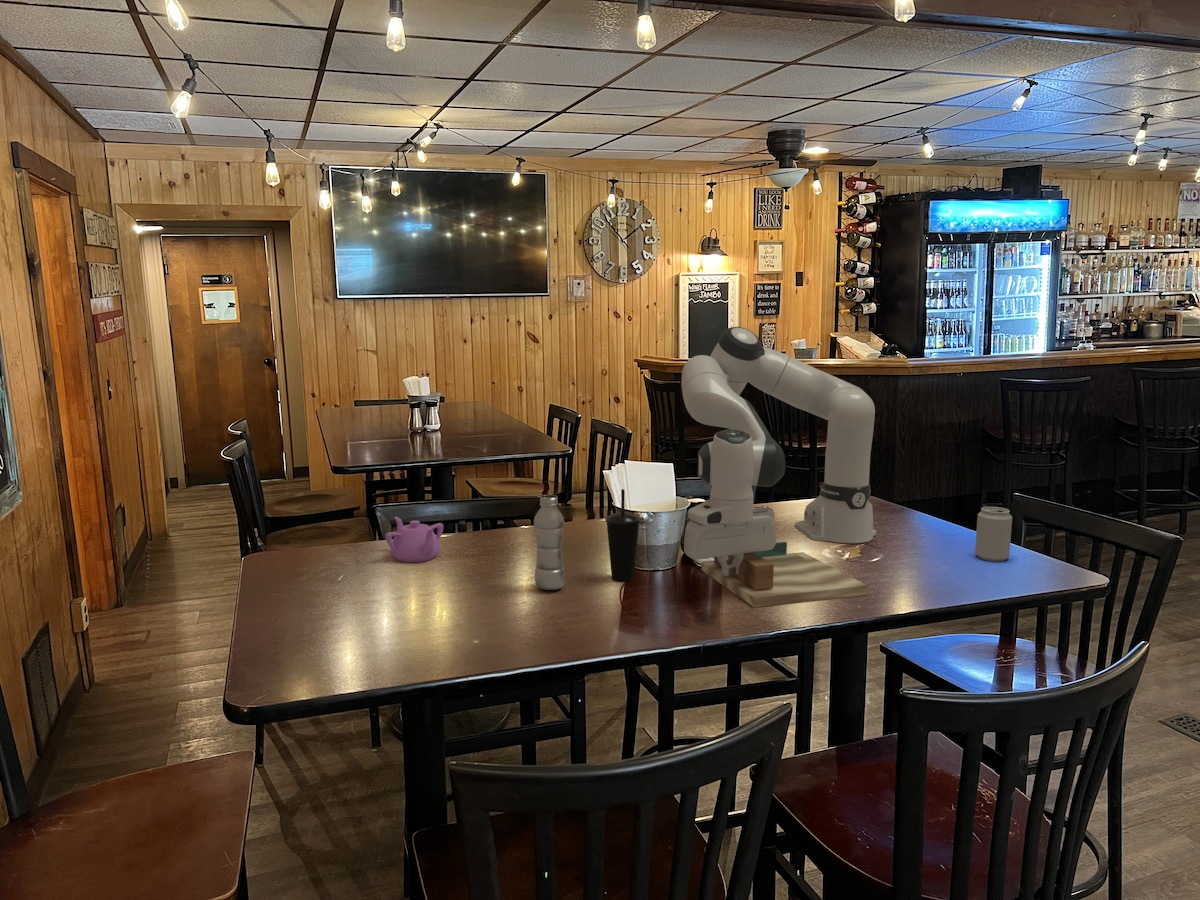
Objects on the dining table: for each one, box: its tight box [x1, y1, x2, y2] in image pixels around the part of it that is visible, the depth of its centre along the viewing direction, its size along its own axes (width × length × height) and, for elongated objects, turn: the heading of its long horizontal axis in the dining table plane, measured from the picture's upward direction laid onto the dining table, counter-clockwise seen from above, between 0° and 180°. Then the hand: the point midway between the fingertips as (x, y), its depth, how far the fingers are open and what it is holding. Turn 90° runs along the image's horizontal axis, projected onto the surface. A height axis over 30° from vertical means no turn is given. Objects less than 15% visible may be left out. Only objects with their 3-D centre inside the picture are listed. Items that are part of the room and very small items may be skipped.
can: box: [974, 506, 1013, 562], centre depth 206 cm, size 8×8×12 cm
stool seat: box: [700, 541, 869, 608], centre depth 189 cm, size 26×26×5 cm
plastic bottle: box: [533, 494, 566, 591], centre depth 183 cm, size 6×7×20 cm
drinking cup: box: [604, 488, 641, 583], centre depth 190 cm, size 8×8×20 cm
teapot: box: [384, 516, 444, 564], centre depth 208 cm, size 12×14×9 cm
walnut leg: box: [713, 552, 774, 590], centre depth 187 cm, size 21×4×6 cm, turn 17°
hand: (730, 574), depth 181 cm, fingers closed
